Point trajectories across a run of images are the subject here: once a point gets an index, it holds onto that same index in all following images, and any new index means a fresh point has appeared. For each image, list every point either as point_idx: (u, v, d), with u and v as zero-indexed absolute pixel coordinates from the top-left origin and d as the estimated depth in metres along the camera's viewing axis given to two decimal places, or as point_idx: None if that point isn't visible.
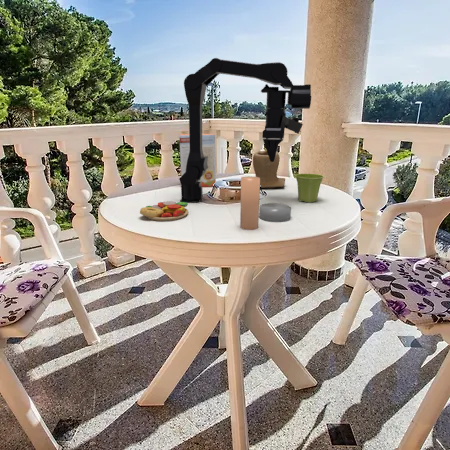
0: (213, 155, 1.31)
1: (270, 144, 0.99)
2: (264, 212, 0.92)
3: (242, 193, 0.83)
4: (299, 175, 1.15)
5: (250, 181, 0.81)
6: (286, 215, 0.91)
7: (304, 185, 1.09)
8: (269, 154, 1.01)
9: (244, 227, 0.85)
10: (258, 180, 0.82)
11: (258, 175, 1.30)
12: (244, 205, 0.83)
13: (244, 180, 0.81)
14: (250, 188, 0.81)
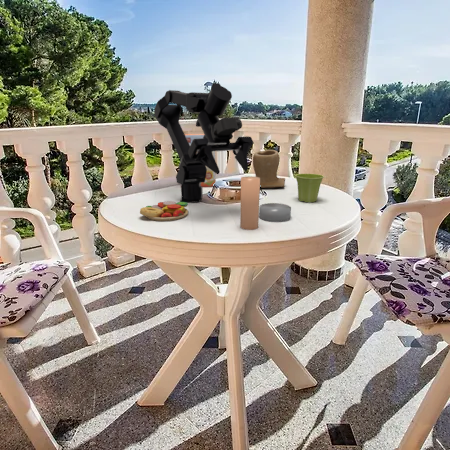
0: (213, 155, 1.31)
1: (206, 159, 0.89)
2: (264, 212, 0.92)
3: (242, 193, 0.83)
4: (299, 175, 1.15)
5: (250, 181, 0.81)
6: (286, 215, 0.91)
7: (304, 185, 1.09)
8: (211, 168, 0.88)
9: (244, 227, 0.85)
10: (258, 180, 0.82)
11: (258, 175, 1.30)
12: (244, 205, 0.83)
13: (244, 180, 0.81)
14: (250, 188, 0.81)
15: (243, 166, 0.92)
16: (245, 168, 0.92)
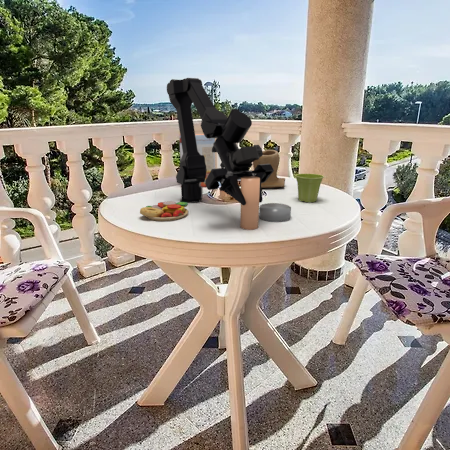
0: (213, 155, 1.31)
1: (231, 189, 0.84)
2: (264, 212, 0.92)
3: (242, 193, 0.83)
4: (299, 175, 1.15)
5: (250, 180, 0.81)
6: (286, 215, 0.91)
7: (304, 185, 1.09)
8: (237, 199, 0.84)
9: (244, 227, 0.85)
10: (258, 180, 0.82)
11: None
12: (244, 205, 0.83)
13: (244, 180, 0.81)
14: (250, 187, 0.81)
15: None
16: (259, 199, 0.85)
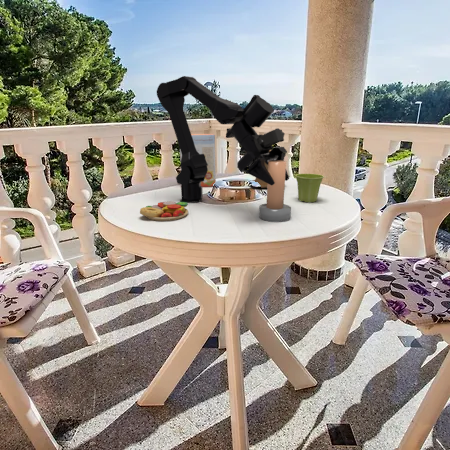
0: (213, 155, 1.31)
1: (257, 171, 0.89)
2: (264, 212, 0.92)
3: (272, 175, 0.90)
4: (299, 175, 1.15)
5: (281, 163, 0.88)
6: (286, 215, 0.91)
7: (304, 185, 1.09)
8: (264, 180, 0.88)
9: (273, 207, 0.92)
10: (285, 162, 0.90)
11: None
12: (274, 187, 0.90)
13: (275, 163, 0.88)
14: (280, 170, 0.89)
15: None
16: (286, 178, 0.94)
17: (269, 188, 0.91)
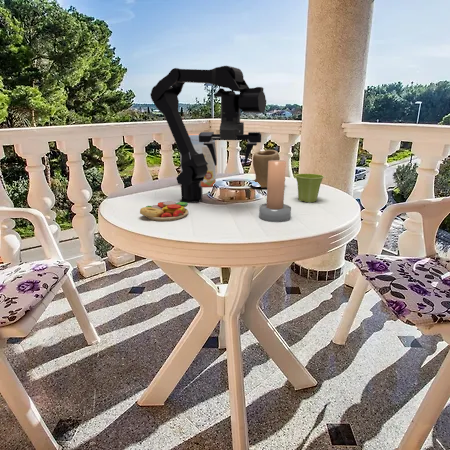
0: None
1: None
2: (264, 212, 0.92)
3: (272, 175, 0.90)
4: (299, 175, 1.15)
5: (281, 163, 0.88)
6: (286, 215, 0.91)
7: (304, 185, 1.09)
8: None
9: (273, 207, 0.92)
10: (285, 162, 0.90)
11: (258, 175, 1.30)
12: (274, 186, 0.90)
13: (275, 163, 0.88)
14: (280, 170, 0.89)
15: None
16: (244, 164, 1.02)
17: (269, 188, 0.91)
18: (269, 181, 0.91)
